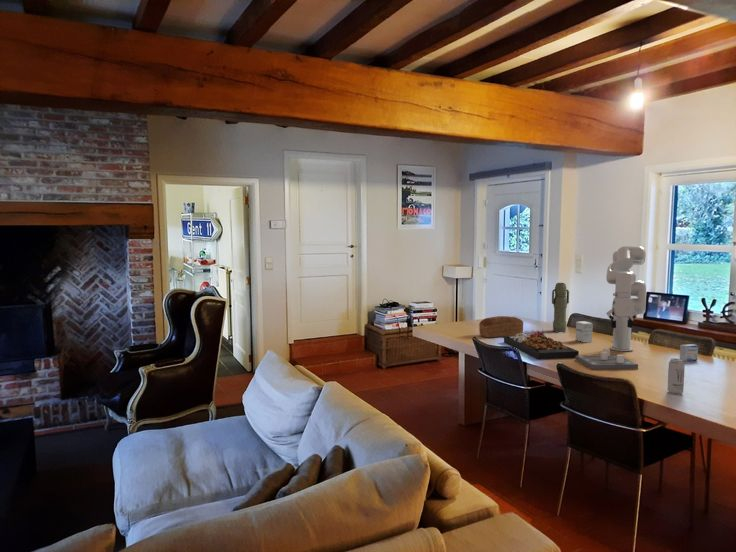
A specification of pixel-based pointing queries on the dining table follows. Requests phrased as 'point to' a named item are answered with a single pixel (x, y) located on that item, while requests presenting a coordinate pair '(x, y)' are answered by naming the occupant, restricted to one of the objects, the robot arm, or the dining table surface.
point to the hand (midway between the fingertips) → (621, 327)
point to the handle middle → (604, 355)
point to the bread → (500, 326)
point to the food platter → (540, 346)
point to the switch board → (605, 362)
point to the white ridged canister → (584, 331)
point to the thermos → (560, 307)
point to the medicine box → (688, 352)
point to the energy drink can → (676, 376)
